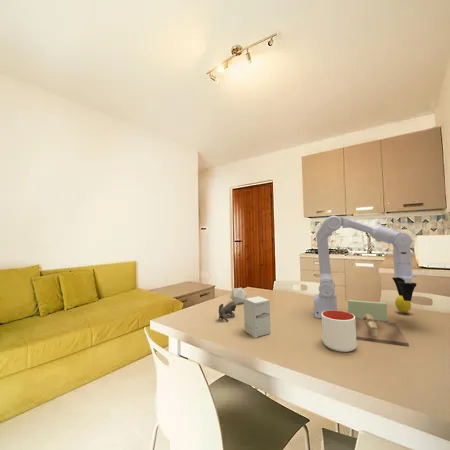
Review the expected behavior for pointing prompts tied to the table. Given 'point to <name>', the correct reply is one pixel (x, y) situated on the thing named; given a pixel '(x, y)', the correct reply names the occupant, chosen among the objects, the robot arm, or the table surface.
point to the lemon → (402, 304)
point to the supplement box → (257, 316)
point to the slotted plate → (368, 309)
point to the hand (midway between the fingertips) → (404, 298)
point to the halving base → (379, 331)
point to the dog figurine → (227, 310)
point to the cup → (339, 330)
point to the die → (238, 295)
